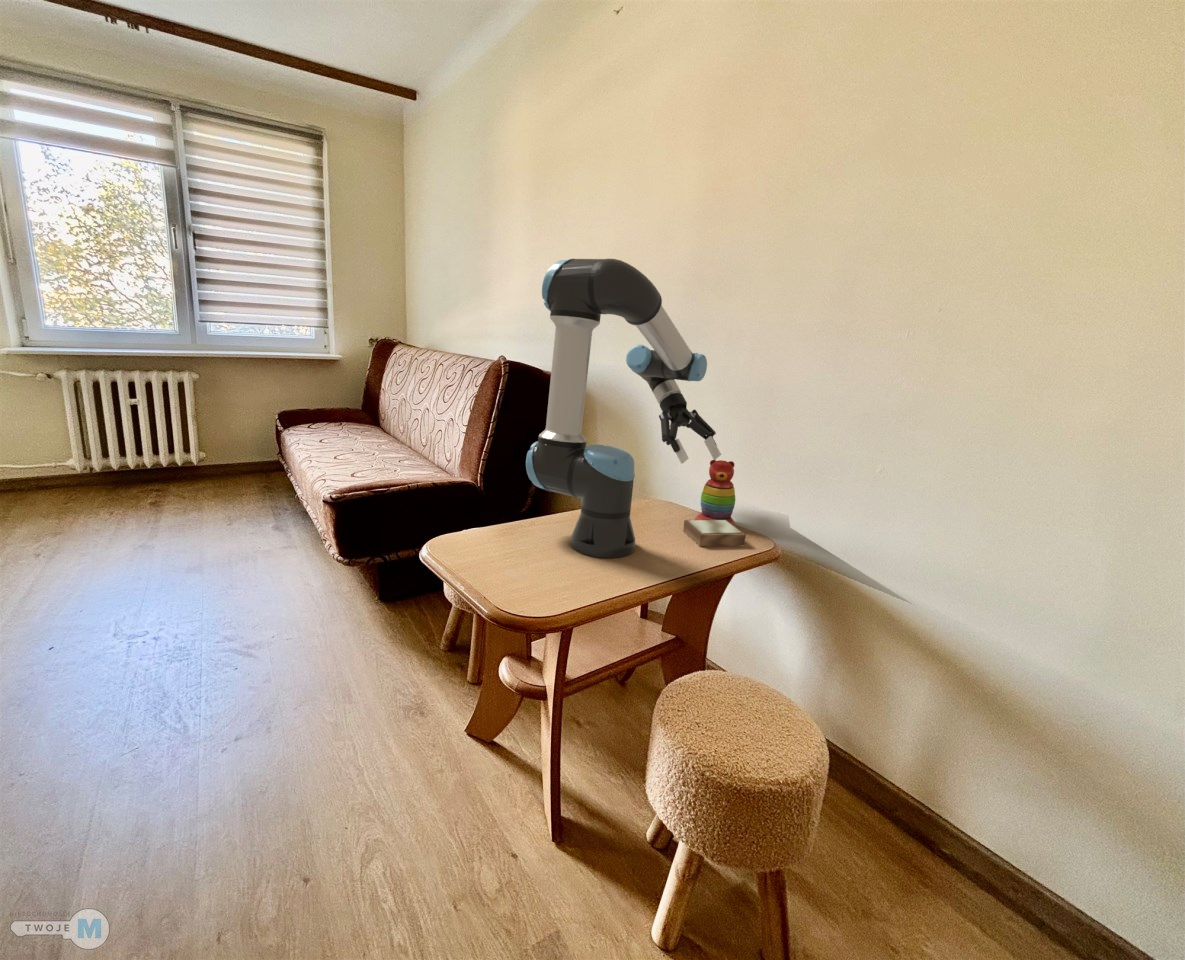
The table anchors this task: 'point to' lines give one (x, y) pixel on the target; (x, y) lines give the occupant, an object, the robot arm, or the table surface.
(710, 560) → the table surface
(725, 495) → the stacking bear
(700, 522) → the grey flat block
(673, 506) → the table surface
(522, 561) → the table surface
